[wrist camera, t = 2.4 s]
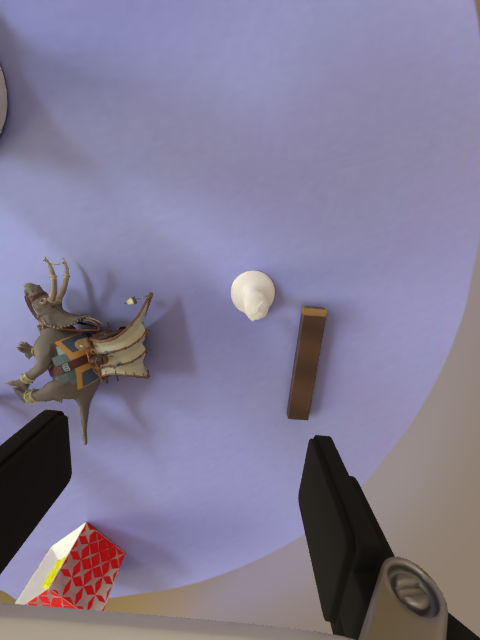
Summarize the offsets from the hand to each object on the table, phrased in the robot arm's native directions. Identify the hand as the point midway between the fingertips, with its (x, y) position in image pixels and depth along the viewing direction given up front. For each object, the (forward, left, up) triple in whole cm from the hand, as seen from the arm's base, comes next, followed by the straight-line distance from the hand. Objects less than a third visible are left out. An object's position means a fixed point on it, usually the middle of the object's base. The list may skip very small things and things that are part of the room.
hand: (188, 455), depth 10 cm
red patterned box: (+38, -18, -22) cm, 47 cm away
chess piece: (-3, +3, -22) cm, 22 cm away
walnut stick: (+5, +10, -21) cm, 24 cm away
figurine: (+4, -14, -22) cm, 26 cm away
